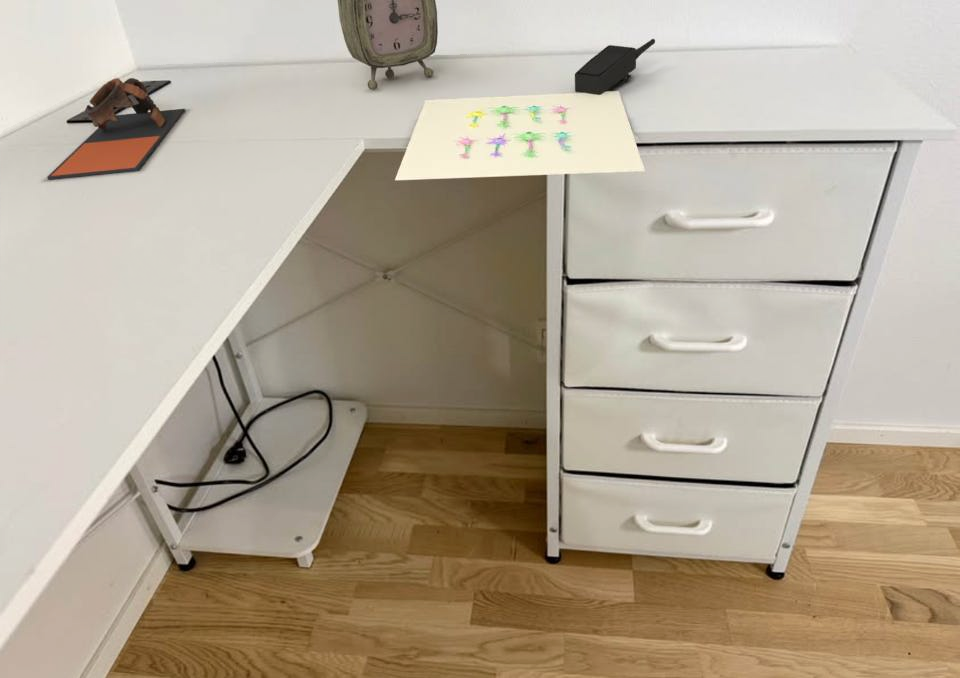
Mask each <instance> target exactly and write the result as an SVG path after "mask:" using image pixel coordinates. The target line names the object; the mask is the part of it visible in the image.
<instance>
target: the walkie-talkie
mask: <svg viewBox="0 0 960 678" xmlns="http://www.w3.org/2000/svg"><path fill="white" fill-rule="evenodd" d="M655 43H656V39H655V38H652V39H650V40H649V41H647V42H645V43H644V44H643V45H641V46H640V47H638V48H636V47H632V46H630V47H629V46H622V45H612V44H608V45H607V46H605V47H604V48H603V49H602V50H601V51H599V52H598V53H597V54H595V55H594V56H593V57H592V58H590V59H589V60H588V61H587V62H586V63H584V64H583V66H581V67H580V68H579V69H578V70H577V71H576V72H575V73H574V93H589V94H595V95H601V94H603V93H604V92H608V91H614V90H615V89H616V88H618V87H619V86H621V85H623V84H625V83H626V82H627V81H628V80H629V79H631V78H632V75H631V74H630V73H631V72H633V71H635V69H636V68H637V60H638V58H639V57H640V56H641V55H642V54H643V53H645V52H646V51H647V50H648V49H649V48H651V47H652V46H653V45H655Z"/></svg>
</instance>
